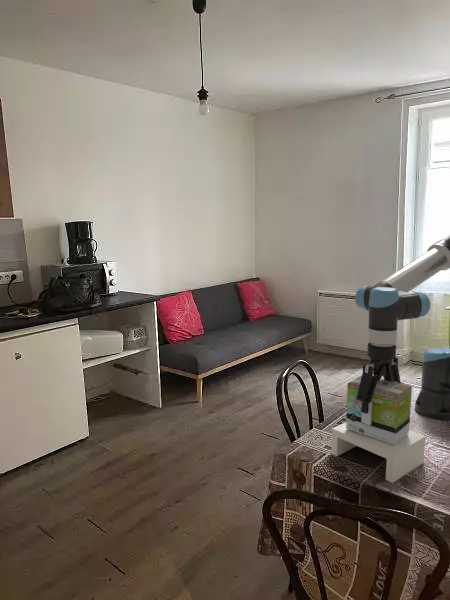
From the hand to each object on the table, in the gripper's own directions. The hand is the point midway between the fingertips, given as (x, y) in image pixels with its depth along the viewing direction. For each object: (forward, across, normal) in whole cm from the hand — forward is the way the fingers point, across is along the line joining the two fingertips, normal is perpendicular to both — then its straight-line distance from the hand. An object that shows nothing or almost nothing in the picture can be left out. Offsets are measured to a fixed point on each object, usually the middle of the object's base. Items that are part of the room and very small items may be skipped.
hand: (378, 417), depth 129 cm
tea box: (+5, 0, 0) cm, 5 cm away
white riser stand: (+13, 0, 0) cm, 13 cm away
